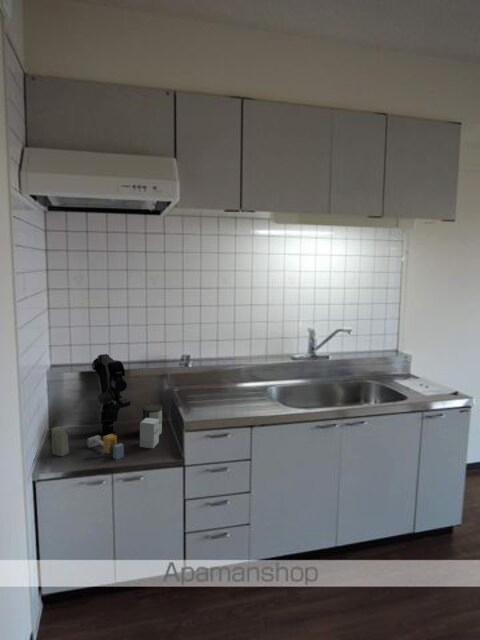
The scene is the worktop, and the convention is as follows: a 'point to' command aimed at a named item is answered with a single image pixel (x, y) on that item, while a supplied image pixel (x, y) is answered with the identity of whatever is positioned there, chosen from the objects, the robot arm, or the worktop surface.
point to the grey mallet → (115, 449)
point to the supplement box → (149, 432)
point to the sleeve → (109, 442)
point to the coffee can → (153, 413)
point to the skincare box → (60, 441)
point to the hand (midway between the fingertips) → (114, 416)
